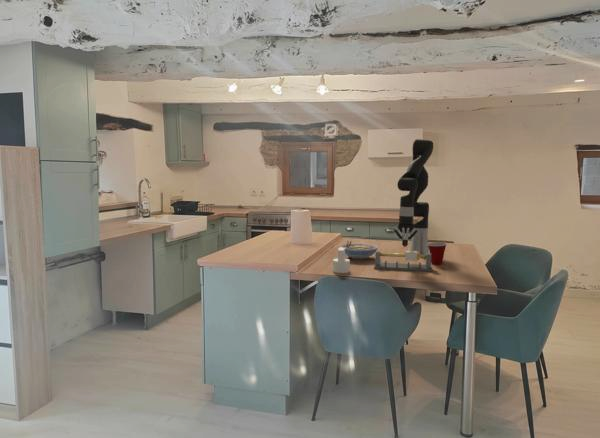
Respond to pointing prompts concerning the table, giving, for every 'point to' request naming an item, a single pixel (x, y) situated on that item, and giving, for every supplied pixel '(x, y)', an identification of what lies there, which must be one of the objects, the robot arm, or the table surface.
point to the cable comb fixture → (403, 266)
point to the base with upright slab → (341, 262)
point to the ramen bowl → (359, 250)
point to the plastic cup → (437, 252)
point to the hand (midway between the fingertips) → (404, 246)
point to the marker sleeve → (411, 253)
